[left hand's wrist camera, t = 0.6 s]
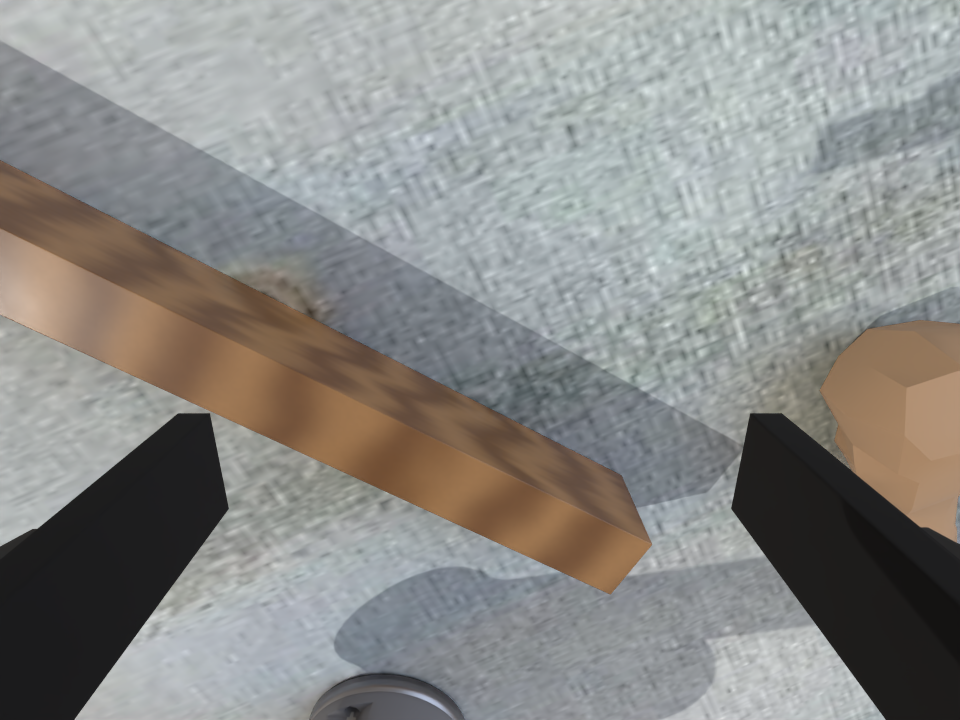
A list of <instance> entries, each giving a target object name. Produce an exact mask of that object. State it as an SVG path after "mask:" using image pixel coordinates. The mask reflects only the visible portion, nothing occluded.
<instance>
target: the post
mask: <svg viewBox="0 0 960 720" xmlns="http://www.w3.org/2000/svg"><path fill="white" fill-rule="evenodd" d="M0 315H2V316H4V317H6V318H8V319H11V320H13V321H15V322H17V323H19V324H22V325H24V326H26V327H28V328H30V329H32V330H35V331H37V332H39V333H41V334H43V335H46V336H48V337H50V338H52V339H54V340H56V341H59V342H61V343H63V344H65V345H67V346H70V347H72V348H74V349H76V350H78V351H80V352H83V353H85V354H87V355H89V356H91V357H94V358H96V359H98V360H100V361H102V362H104V363H107V364H109V365H111V366H113V367H115V368H118V369H120V370H122V371H124V372H126V373H128V374H131V375H133V376H135V377H137V378H139V379H141V380H144V381H146V382H148V383H150V384H152V385H155V386H157V387H159V388H161V389H163V390H165V391H168V392H170V393H172V394H174V395H176V396H179V397H181V398H183V399H185V400H187V401H189V402H192V403H194V404H196V405H198V406H200V407H203V408H205V409H207V410H209V411H211V412H213V413H216V414H218V415H220V416H222V417H224V418H227V419H229V420H231V421H233V422H235V423H237V424H240V425H242V426H244V427H246V428H248V429H251V430H253V431H255V432H257V433H259V434H261V435H264V436H266V437H268V438H270V439H272V440H275V441H277V442H279V443H281V444H283V445H285V446H288V447H290V448H292V449H294V450H296V451H299V452H301V453H303V454H305V455H307V456H309V457H312V458H314V459H316V460H318V461H320V462H323V463H325V464H327V465H329V466H331V467H333V468H336V469H338V470H340V471H342V472H344V473H347V474H349V475H351V476H353V477H355V478H357V479H360V480H362V481H364V482H366V483H368V484H371V485H373V486H375V487H377V488H379V489H381V490H384V491H386V492H388V493H390V494H392V495H395V496H397V497H399V498H401V499H403V500H405V501H408V502H410V503H412V504H414V505H416V506H419V507H421V508H423V509H425V510H427V511H429V512H432V513H434V514H436V515H438V516H440V517H443V518H445V519H447V520H449V521H451V522H453V523H456V524H458V525H460V526H462V527H464V528H467V529H469V530H471V531H473V532H475V533H477V534H480V535H482V536H484V537H486V538H488V539H491V540H493V541H495V542H497V543H499V544H501V545H504V546H506V547H508V548H510V549H512V550H515V551H517V552H519V553H521V554H523V555H525V556H528V557H530V558H532V559H534V560H536V561H538V562H541V563H543V564H545V565H547V566H549V567H552V568H554V569H556V570H558V571H560V572H562V573H565V574H567V575H569V576H571V577H573V578H576V579H578V580H580V581H582V582H584V583H586V584H589V585H591V586H593V587H595V588H597V589H600V590H602V591H604V592H606V593H608V594H611V593H612V592H613V591H614V590H615V589H616V587H617V586H618V585H619V584H620V583H621V581H622V580H623V579H624V578H625V577H626V575H627V574H628V573H629V572H630V571H631V569H632V568H633V567H634V566H635V565H636V563H637V562H638V561H639V560H640V559H641V557H642V556H643V555H644V554H645V553H646V551H647V550H648V549H649V548H650V547H651V545H652V543H651V541H650V538H649V536H648V534H647V532H646V529H645V527H644V525H643V523H642V520H641V518H640V516H639V514H638V511H637V509H636V507H635V505H634V502H633V500H632V498H631V496H630V493H629V491H628V489H627V487H626V484H625V482H624V480H623V478H622V476H621V475H620V474H618V473H616V472H614V471H612V470H610V469H608V468H606V467H604V466H602V465H600V464H598V463H596V462H594V461H592V460H590V459H588V458H586V457H584V456H582V455H580V454H578V453H576V452H574V451H572V450H570V449H568V448H566V447H564V446H563V445H561V444H559V443H557V442H555V441H553V440H551V439H549V438H547V437H545V436H543V435H541V434H539V433H537V432H535V431H533V430H531V429H529V428H527V427H525V426H523V425H521V424H519V423H517V422H515V421H513V420H511V419H509V418H507V417H505V416H503V415H501V414H499V413H497V412H495V411H493V410H492V409H490V408H488V407H486V406H484V405H482V404H480V403H478V402H476V401H474V400H472V399H470V398H468V397H466V396H464V395H462V394H460V393H458V392H456V391H454V390H452V389H450V388H448V387H446V386H444V385H442V384H440V383H438V382H436V381H434V380H432V379H430V378H428V377H426V376H424V375H423V374H421V373H419V372H417V371H415V370H413V369H411V368H409V367H407V366H405V365H403V364H401V363H399V362H397V361H395V360H393V359H391V358H389V357H387V356H385V355H383V354H381V353H379V352H377V351H375V350H373V349H371V348H369V347H367V346H365V345H363V344H361V343H359V342H357V341H355V340H353V339H352V338H350V337H348V336H346V335H344V334H342V333H340V332H338V331H336V330H334V329H332V328H330V327H328V326H326V325H324V324H322V323H320V322H318V321H316V320H314V319H312V318H310V317H308V316H306V315H304V314H302V313H300V312H298V311H296V310H294V309H292V308H290V307H288V306H286V305H284V304H283V303H281V302H279V301H277V300H275V299H273V298H271V297H269V296H267V295H265V294H263V293H261V292H259V291H257V290H255V289H253V288H251V287H249V286H247V285H245V284H243V283H241V282H239V281H237V280H235V279H233V278H231V277H229V276H227V275H225V274H223V273H221V272H219V271H217V270H215V269H213V268H212V267H210V266H208V265H206V264H204V263H202V262H200V261H198V260H196V259H194V258H192V257H190V256H188V255H186V254H184V253H182V252H180V251H178V250H176V249H174V248H172V247H170V246H168V245H166V244H164V243H162V242H160V241H158V240H156V239H154V238H152V237H150V236H148V235H146V234H144V233H143V232H141V231H139V230H137V229H135V228H133V227H131V226H129V225H127V224H125V223H123V222H121V221H119V220H117V219H115V218H113V217H111V216H109V215H107V214H105V213H103V212H101V211H99V210H97V209H95V208H93V207H91V206H89V205H87V204H85V203H83V202H81V201H79V200H77V199H75V198H73V197H72V196H70V195H68V194H66V193H64V192H62V191H60V190H58V189H56V188H54V187H52V186H50V185H48V184H46V183H44V182H42V181H40V180H38V179H36V178H34V177H32V176H30V175H28V174H26V173H24V172H22V171H20V170H18V169H16V168H14V167H12V166H10V165H8V164H6V163H4V162H3V161H1V160H0Z"/></svg>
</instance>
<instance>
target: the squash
mask: <svg viewBox="0 0 960 720" xmlns="http://www.w3.org/2000/svg"><path fill="white" fill-rule="evenodd" d="M820 392H821V394H822V396H823V398H824V399H825V401H826V403H827V405H828V406H829V408H830V410H831V412H832V414H833V415H834V417H835V419H836V421H837V423H838V428H837V432H836V436H835V440H834V441H835V442H836V444H837V445H838V447H839V448H840V450H841V451H842V453H843V454H844V456H845V458H846V460H847V462H848V463H849V465H850V467H851V469H852V471H853V472H854V473H855V474H856V475H857V476H859V477H860V478H861V479H862V480H863V481H865V482H866V483H867V484H868V485H870V486H871V487H872V488H873V489H874V490H876V491H877V492H878V493H879V494H881V495H882V496H883V497H884V498H885V499H887V500H888V501H889V502H890V503H891V504H893V505H894V506H895V507H896V508H898V509H899V510H900V511H901V512H902V513H904V514H905V515H906V516H907V517H909V518H910V519H911V520H912V521H913V522H915V523H916V524H917V525H918V526H920V527H928V528H930V529H932V530H934V531H936V532H938V533H940V534H941V535H943V536H945V537H947V538H949V539H951V540H953V541H954V542H956V543H957V528H956V525H955V520H956V511H957V501H958V497H959V495H960V324H956V323H945V322H935V321H924V320H918V321H912V322H906V323H900V324H894V325H888V326H883V327H877V328H871V329H867V330H866V331H865V332H864V333H863V334H862V335H861V336H860V337H858V338H857V339H856V340H855V341H854V342H853V343H852V344H851V345H850V346H849V347H848V348H847V349H846V350H845V351H844V352H842V353H841V354H840V355H839V356H838V358H837V360H836V362H835V363H834V365H833V367H832V369H831V371H830V372H829V374H828V376H827V378H826V380H825V382H824V383H823V385H822V387H821V389H820Z"/></svg>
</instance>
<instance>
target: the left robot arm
mask: <svg viewBox="0 0 960 720" xmlns="http://www.w3.org/2000/svg"><path fill="white" fill-rule="evenodd" d="M228 509H229V507H228V502H227V497H226V492H225V487H224V482H223V477H222V472H221V467H220V462H219V457H218V452H217V447H216V442H215V437H214V432H213V427H212V422H211V417H210V413H178V414H177V415H176V416H175V417H173V418H172V419H171V420H170V421H168V422H167V423H166V424H165V425H164V426H162V427H161V428H160V429H159V430H158V431H156V432H155V433H154V434H153V435H151V436H150V437H149V438H148V439H147V440H145V441H144V442H143V443H142V444H140V445H139V446H138V447H137V448H136V449H134V450H133V451H132V452H131V453H129V454H128V455H127V456H126V457H125V458H123V459H122V460H121V461H120V462H119V463H117V464H116V465H115V466H114V467H112V468H111V469H110V470H109V471H108V472H106V473H105V474H104V475H103V476H101V477H100V478H99V479H98V480H97V481H95V482H94V483H93V484H92V485H90V486H89V487H88V488H87V489H86V490H84V491H83V492H82V493H81V494H79V495H78V496H77V497H76V498H75V499H73V500H72V501H71V502H70V503H69V504H67V505H66V506H65V507H64V508H62V509H61V510H60V511H59V512H58V513H56V514H55V515H54V516H53V517H51V518H50V519H49V520H48V521H47V522H45V523H44V524H43V525H42V526H40V527H39V528H38V529H32V530H30V531H28V532H26V533H24V534H23V535H21V536H19V537H17V538H15V539H13V540H12V541H10V542H8V543H6V544H4V545H2V546H0V720H74V719H75V718H76V716H77V715H78V714H79V712H80V711H81V710H82V708H83V707H84V705H85V704H86V703H87V701H88V700H89V699H90V697H91V696H92V695H93V693H94V692H95V690H96V689H97V688H98V686H99V685H100V684H101V682H102V681H103V680H104V678H105V677H106V675H107V674H108V673H109V671H110V670H111V669H112V667H113V666H114V665H115V663H116V662H117V660H118V659H119V658H120V656H121V655H122V654H123V652H124V651H125V650H126V648H127V647H128V645H129V644H130V643H131V641H132V640H133V639H134V637H135V636H136V635H137V633H138V632H139V630H140V629H141V628H142V626H143V625H144V624H145V622H146V621H147V620H148V618H149V617H150V615H151V614H152V613H153V611H154V610H155V609H156V607H157V606H158V605H159V603H160V602H161V600H162V599H163V598H164V596H165V595H166V594H167V592H168V591H169V590H170V588H171V587H172V585H173V584H174V583H175V581H176V580H177V579H178V577H179V576H180V575H181V573H182V572H183V570H184V569H185V568H186V566H187V565H188V564H189V562H190V561H191V560H192V558H193V557H194V555H195V554H196V553H197V551H198V550H199V549H200V547H201V546H202V545H203V543H204V542H205V540H206V539H207V538H208V536H209V535H210V534H211V532H212V531H213V530H214V528H215V527H216V525H217V524H218V523H219V521H220V520H221V519H222V517H223V516H224V514H225V513H226V512H227V510H228ZM731 509H732V510H733V512H734V513H735V514H736V516H737V517H738V519H739V520H740V521H741V523H742V524H743V525H744V527H745V528H746V530H747V531H748V532H749V534H750V535H751V536H752V538H753V539H754V540H755V542H756V543H757V545H758V546H759V547H760V549H761V550H762V551H763V553H764V554H765V555H766V557H767V558H768V560H769V561H770V562H771V564H772V565H773V566H774V568H775V569H776V570H777V572H778V573H779V575H780V576H781V577H782V579H783V580H784V581H785V583H786V584H787V585H788V587H789V588H790V590H791V591H792V592H793V594H794V595H795V596H796V598H797V599H798V600H799V602H800V603H801V605H802V606H803V607H804V609H805V610H806V611H807V613H808V614H809V615H810V617H811V618H812V620H813V621H814V622H815V624H816V625H817V626H818V628H819V629H820V630H821V632H822V633H823V635H824V636H825V637H826V639H827V640H828V641H829V643H830V644H831V645H832V647H833V648H834V650H835V651H836V652H837V654H838V655H839V656H840V658H841V659H842V660H843V662H844V663H845V665H846V666H847V667H848V669H849V670H850V671H851V673H852V674H853V675H854V677H855V678H856V680H857V681H858V682H859V684H860V685H861V686H862V688H863V689H864V690H865V692H866V693H867V695H868V696H869V697H870V699H871V700H872V701H873V703H874V704H875V705H876V707H877V708H878V710H879V711H880V712H881V714H882V715H883V716H884V718H885V719H886V720H960V544H958V543H956V542H954V541H953V540H951V539H949V538H947V537H945V536H943V535H941V534H940V533H938V532H936V531H934V530H932V529H930V528H928V527H920V526H918V525H917V524H916V523H915V522H913V521H912V520H911V519H910V518H909V517H907V516H906V515H905V514H904V513H902V512H901V511H900V510H899V509H898V508H896V507H895V506H894V505H893V504H891V503H890V502H889V501H888V500H887V499H885V498H884V497H883V496H882V495H881V494H879V493H878V492H877V491H876V490H874V489H873V488H872V487H871V486H870V485H868V484H867V483H866V482H865V481H863V480H862V479H861V478H860V477H859V476H857V475H856V474H855V473H854V472H852V471H851V470H850V469H849V468H848V467H846V466H845V465H844V464H843V463H841V462H840V461H839V460H838V459H837V458H835V457H834V456H833V455H832V454H831V453H829V452H828V451H827V450H826V449H824V448H823V447H822V446H821V445H820V444H818V443H817V442H816V441H815V440H813V439H812V438H811V437H810V436H809V435H807V434H806V433H805V432H804V431H802V430H801V429H800V428H799V427H798V426H796V425H795V424H794V423H793V422H792V421H790V420H789V419H788V418H787V417H785V416H784V415H783V414H782V413H750V417H749V422H748V427H747V432H746V437H745V442H744V447H743V452H742V457H741V462H740V467H739V472H738V477H737V482H736V487H735V492H734V497H733V502H732V507H731ZM310 720H464V717H463V715H462V713H461V711H460V709H459V708H458V706H457V705H456V704H455V703H454V702H453V701H452V700H451V699H450V698H449V697H448V696H447V695H446V694H444V693H443V692H442V691H440V690H439V689H437V688H435V687H433V686H431V685H429V684H427V683H425V682H422V681H419V680H416V679H413V678H409V677H404V676H398V675H368V676H362V677H358V678H354V679H350V680H348V681H345V682H343V683H340V684H338V685H337V686H335V687H333V688H332V689H330V690H329V691H327V692H326V693H325V694H324V695H323V696H322V697H321V698H320V699H319V700H318V702H317V703H316V705H315V706H314V708H313V711H312V713H311V716H310Z"/></svg>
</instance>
